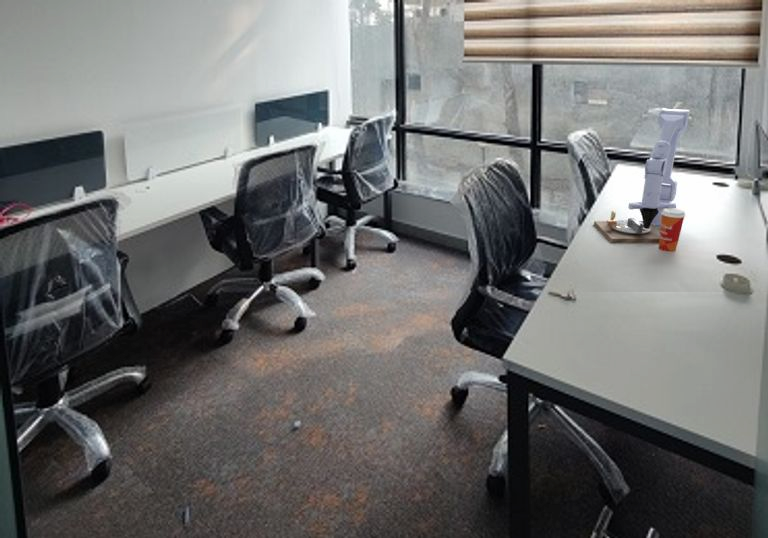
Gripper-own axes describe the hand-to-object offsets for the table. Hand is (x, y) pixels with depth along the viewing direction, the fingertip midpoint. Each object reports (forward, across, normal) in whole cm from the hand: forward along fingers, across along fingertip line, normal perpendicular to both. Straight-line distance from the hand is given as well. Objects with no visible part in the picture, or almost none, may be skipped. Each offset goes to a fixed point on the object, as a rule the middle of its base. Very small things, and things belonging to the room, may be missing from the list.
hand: (646, 227), depth 227 cm
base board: (+4, -4, +4) cm, 7 cm away
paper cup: (+4, +3, -12) cm, 13 cm away
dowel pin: (+2, -9, +11) cm, 14 cm away
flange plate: (+2, -5, +4) cm, 6 cm away
